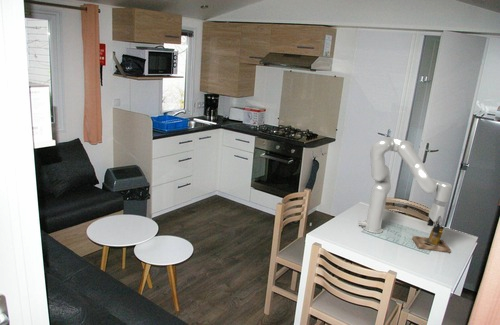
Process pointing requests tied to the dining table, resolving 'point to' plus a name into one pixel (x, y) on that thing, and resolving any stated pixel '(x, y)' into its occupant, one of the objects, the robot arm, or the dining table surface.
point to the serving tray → (426, 246)
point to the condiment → (435, 237)
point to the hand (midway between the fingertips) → (432, 228)
